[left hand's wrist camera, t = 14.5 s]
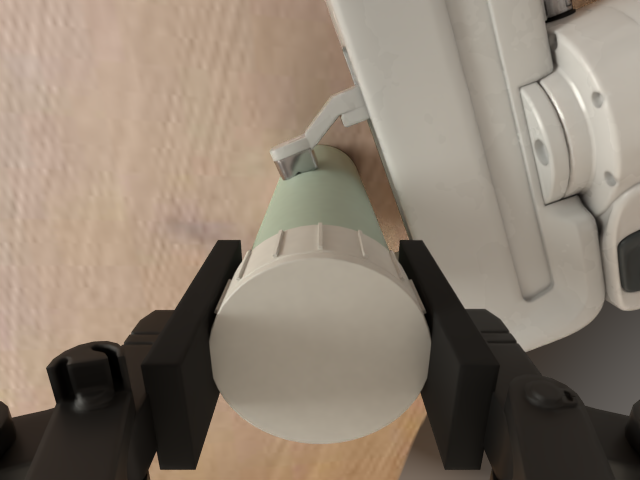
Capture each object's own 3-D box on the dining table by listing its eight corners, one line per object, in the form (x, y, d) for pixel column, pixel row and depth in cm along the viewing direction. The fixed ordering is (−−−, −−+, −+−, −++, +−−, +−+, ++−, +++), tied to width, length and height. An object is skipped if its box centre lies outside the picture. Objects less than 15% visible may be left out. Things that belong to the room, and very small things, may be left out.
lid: (291, 183, 11) (284, 210, 9) (453, 288, 12) (481, 334, 10) (193, 332, 13) (167, 385, 10) (343, 412, 14) (347, 474, 12)
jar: (369, 157, 26) (448, 283, 10) (346, 230, 28) (382, 436, 12) (291, 135, 26) (243, 232, 10) (272, 211, 27) (206, 399, 11)
